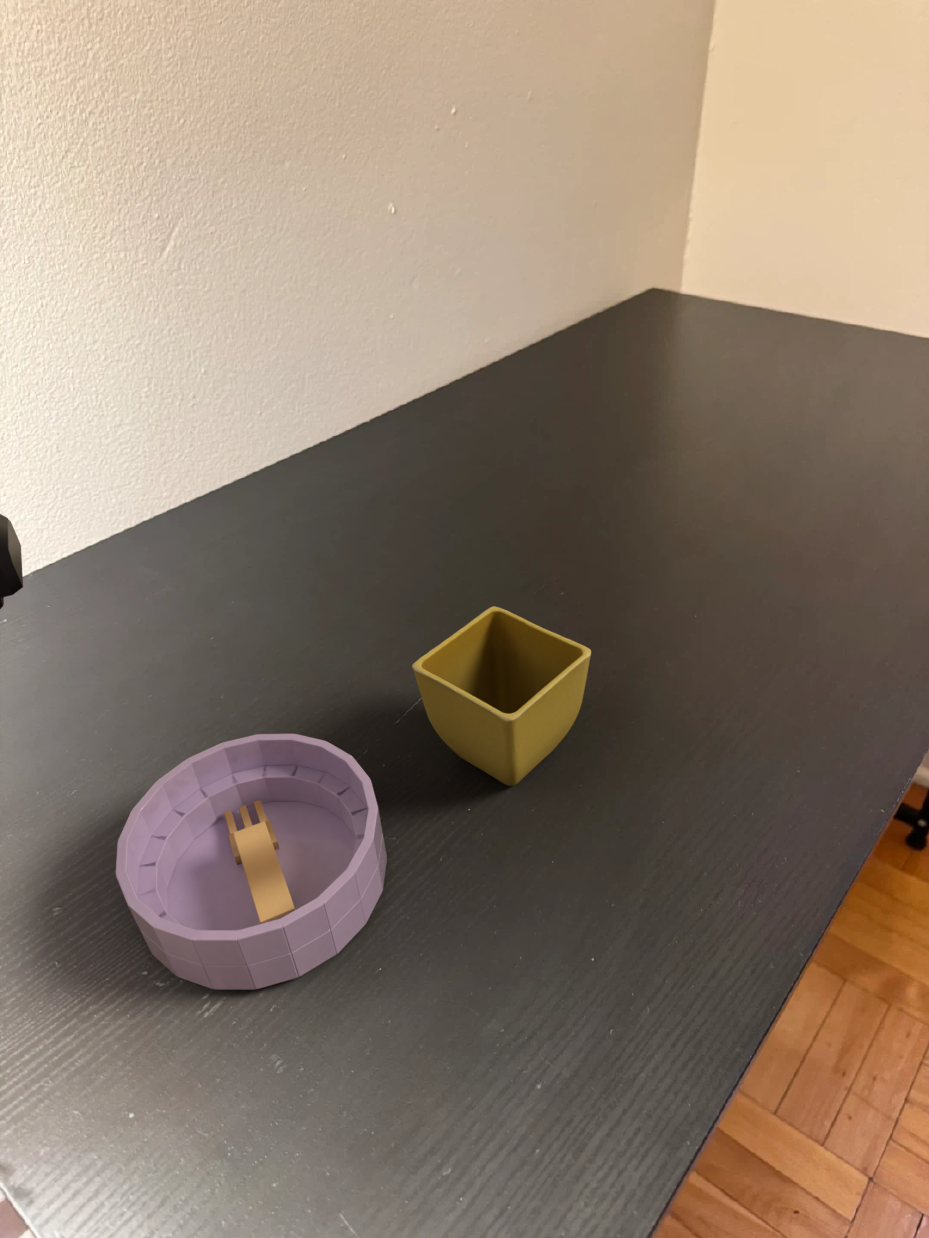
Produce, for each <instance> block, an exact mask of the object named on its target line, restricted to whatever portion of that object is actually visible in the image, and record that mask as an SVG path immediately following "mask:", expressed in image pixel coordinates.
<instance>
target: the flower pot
mask: <svg viewBox="0 0 929 1238" xmlns="http://www.w3.org/2000/svg"><path fill="white" fill-rule="evenodd" d="M591 656H592V650H591V649H590V648H589V647H587V646H585V645H583V644H581V643H579V642H576V641H574V640H572V639H570V638H568V637H567V638H566V637H565V636H563V635H560V634H558V633H556V632H553V631H550V630H549V629H546V628H543V627H541V626H540V625H538V624H535V623H533V622H531V621H530V620H527V619H526V618H524V617H521V616H519V615H517V614H515V613H513V612H511V611H509V610H506V609H504V608H502V607H498V606H493V605H492V606H490V607H488V608H487V609H486V610H484V611H483V612H482V613H480V614H479V615H477V616H476V617H475V618H473V619H472V620H471V621H470V622H467V623H466V625H464V626H463V627H462V628H460V629H458V630H457V631H456V632H454V633H453V634H452V635H450V636H449V637H448V638H446V639H445V640H443V641H442V642H441V643H439V644H438V645H436V646H435V647H434V648H432V649H430V650H429V651H428V652H427V653H426V654H424V655H423V656H421V657H420V658H418V659H417V660H416V661H415V662H414V663H412V664H411V667H412V671H413V673H414V678H415V680H416V683H417V687H418V690H419V694H420V697H421V700H422V703H423V706H424V709H425V712H426V715H427V718H428V720H429V722H430V724H431V726H432V728H433V729H434V731H435V732H436V734H437V735H438V737H439V738H440V739H441V740H442V741H443V742H444V743H445V745H446V746H448V747H449V749H451V750H452V751H453V752H454V753H455V754H456V755H457V756H459V758H461V759H463V760H464V761H466V762H468V763H469V764H470V765H473V766H474V767H475V768H478V769H480V770H481V771H482V772H485V773H486V774H488V775H489V776H491V777H492V778H494V779H496V780H497V781H499V782H500V783H502V784H503V785H506V786H508V787H513V786H515V785H517V784H519V783H520V782H521V780H523V779H524V778H525V777H526V776H527V775H528V774H529V773H530V772H532V770H533V769H535V768H536V766H538V765H539V764H540V763H541V762H542V761H543V760H544V759H545V758H546V757H547V756H549V755H550V754H551V753H552V752H553V751H554V750H555V748H557V747H558V745H559V744H560V743H561V741H562V740H563V739H564V738H565V736H566V735H567V734H568V733H569V731H570V730H571V728H572V727H573V725H574V723H575V721H576V719H577V717H578V715H579V713H580V710H581V707H582V704H583V699H584V693H585V689H586V684H587V678H588V673H589V668H590V662H591V661H590V660H591Z"/></svg>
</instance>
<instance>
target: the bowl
mask: <svg viewBox="0 0 929 1238" xmlns="http://www.w3.org/2000/svg"><path fill="white" fill-rule="evenodd" d="M258 800H261V803H262V806H263V809H264V812H265V815H266V817H267V820H270V822H271V825H272V827H273V830H274V833H275V836H276V839H277V842H278V845H279V849H277V850H275V852H276V855H277V858H278V861H279V864H280V867H281V870H282V872H283V875H284V878H285V881H286V884H287V887H288V890H289V893H290V895H291V898H292V901H293V904H294V907H295V911H293V912H291V913H289V914H288V915H286V916H284V917H282V918H280V919H277V920H274V921H270V922H266V923H263V924H261V923H260V920H259V917H258V914H257V910H256V907H255V904H254V901H253V897H252V894H251V891H250V887H249V884H248V881H247V878H246V874H245V871H244V868H243V864H242V863H241V864H238V865H237V864H236V861H235V858H234V855H233V852H232V848H231V845H230V842H229V838H228V835H229V834H230V833H229V830H228V826H227V823H226V820H225V816H224V813H225V812H227V811H231V812H232V815H233V818H234V821H235V825H236V828H237V831H239V830H242V829H245V827H244V824H243V821H242V818H241V814H240V811H239V807H241V806H244V805H246V808H247V811H248V814H249V817H250V820H251V823H252V826H253V825H255V824H258V823H260V822H259V819H258V816H257V813H256V810H255V807H254V804H253V802H255V801H258ZM382 827H383V826H382V822H381V816H380V810H379V805H378V801H377V797H376V794H375V791H374V785H373V782H372V780H371V778H370V777H369V775H368V774H367V773H366V772H365V770H364V769H363V768H362V767H361V765H360V764H359V763H358V761H357V760H356V759H355V757H353V756H352V755H351V754H349V753H347V752H346V751H344V750H343V749H341V748H339V747H337V746H335V745H334V744H332V743H330V742H328V741H326V740H324V739H320V738H315V737H310V736H306V735H302V734H298V733H257V734H252V735H247V736H244V737H239V738H235V739H230V740H226V741H223V742H220V743H218V744H216V745H214V746H211V747H210V748H207V749H205V750H203V751H200V752H198V753H196V754H194V755H192V756H190V757H187V758H186V759H184V760H183V761H181V762H180V763H179V764H177V765H176V766H175V767H173V768H172V769H171V770H169V771H168V772H167V773H165V774H164V775H163V776H161V777H160V778H159V779H157V780H156V781H155V782H154V783H153V784H152V785H151V786H150V787H149V789H148V790H147V792H145V794H144V795H143V796H142V797H141V798H140V800H138V802H137V803H136V804H135V805H134V807H133V808H132V809H131V811H130V813H129V815H128V817H127V819H126V821H125V824H124V826H123V827H122V831H121V833H120V835H119V837H118V840H117V844H116V858H115V861H116V862H115V878H116V880H117V882H118V883H117V884H118V885H119V887H120V890H121V892H122V895H123V897H124V900H125V902H126V905H127V907H128V909H129V911H130V914H131V915H132V917H133V919H134V921H135V923H136V925H137V928H138V929H139V930H140V933H141V935H142V937H143V939H144V941H145V943H146V945H147V947H148V949H149V951H150V953H151V955H152V956H154V958H156V959H157V960H158V961H159V962H160V963H161V964H162V965H163V966H165V968H167V969H168V970H169V971H170V972H171V973H172V974H173V975H175V977H177V978H180V979H183V980H186V981H189V982H191V983H194V984H197V985H200V986H202V987H205V988H208V989H211V990H221V991H222V990H224V991H225V990H232V991H233V990H234V991H237V990H241V991H242V990H243V991H245V990H247V991H248V990H249V991H250V990H251V991H252V990H259V989H263V988H267V987H269V986H275V985H276V984H280V983H284V982H287V981H291V980H294V979H297V978H300V977H302V976H304V975H305V974H307V973H309V972H310V971H311V970H314V969H315V968H317V967H319V966H320V965H322V964H323V963H326V961H328V960H330V959H331V958H333V957H335V956H336V955H338V954H339V953H340V952H341V951H342V950H343V949H344V948H345V947H346V945H348V943H349V942H351V941H352V939H353V938H354V937H355V936H356V935H357V934H358V933H359V932H360V931H361V930H362V929H363V928H364V927H365V926H366V924H367V922H368V921H369V919H370V917H371V915H372V913H373V911H374V909H375V907H376V905H377V904H378V901H379V899H380V898H381V895H382V893H383V891H384V885H385V878H386V870H387V864H388V863H387V861H388V856H387V851H386V850H387V849H386V845H385V838H384V833H383V828H382Z"/></svg>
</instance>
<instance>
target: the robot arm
mask: <svg viewBox="0 0 929 1238" xmlns="http://www.w3.org/2000/svg"><path fill="white" fill-rule="evenodd" d="M23 588H24V576H23V556H22V544H21V542H20V540H19V537H18V535H17V533H16V531H15V528H14V525H13V523H12V521H11V520H10V518H9V517H7V516H5V515H3V514H1V513H0V610H1V609H2V608H3V607H4V605H5V598H6V597H10V596H14V595H15V594H16V593H18V592H19V591H20V590H22V589H23Z"/></svg>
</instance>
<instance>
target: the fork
mask: <svg viewBox="0 0 929 1238" xmlns="http://www.w3.org/2000/svg"><path fill="white" fill-rule="evenodd" d="M253 804H254V807H255V810H256V813H257V816H258V819H259V822H260V823H258V824H255V825H253V826H252V823H251V820H250V817H249V814H248V811H247V808H246V805H244V806H241V807H239V811H240V814H241V818H242V821H243V824H244V827H245V829H242V830H239V831H237V828H236V825H235V821H234V818H233V815H232V812H231V811H227V812H225V813H224V816H225V820H226V823H227V826H228V830H229V833H230V834H229V835H228V838H229V842H230V845H231V848H232V852H233V855H234V858H235V861H236V864H237V865H238V864H241V863H242V864H243V868H244V871H245V874H246V878H247V881H248V884H249V887H250V891H251V894H252V897H253V901H254V904H255V907H256V910H257V914H258V917H259V920H260V923H261V924H263V923H266V922H270V921H274V920H277V919H280V918H282V917H284V916H286V915H288V914H289V913H291V912H293V911H295V907H294V904H293V901H292V898H291V895H290V893H289V890H288V887H287V884H286V881H285V878H284V875H283V872H282V870H281V867H280V864H279V861H278V858H277V855H276V852H275V850H277V849H279V845H278V842H277V839H276V836H275V833H274V830H273V827H272V825H271V822H270V820H267V817H266V815H265V812H264V809H263V806H262V803H261V800H258V801H255V802H253Z"/></svg>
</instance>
